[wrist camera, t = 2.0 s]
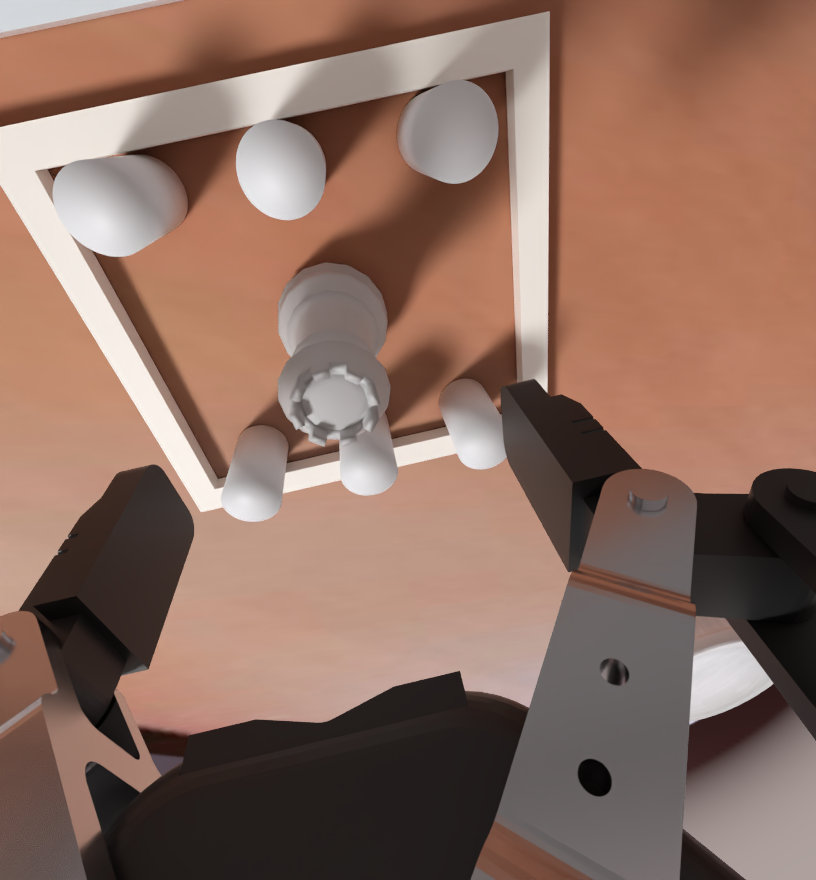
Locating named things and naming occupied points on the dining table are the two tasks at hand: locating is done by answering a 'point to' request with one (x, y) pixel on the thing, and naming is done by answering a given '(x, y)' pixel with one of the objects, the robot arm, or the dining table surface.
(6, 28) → the tile
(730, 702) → the ramekin
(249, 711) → the dining table surface
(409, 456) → the frame
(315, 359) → the rook chess piece
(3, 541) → the dining table surface
